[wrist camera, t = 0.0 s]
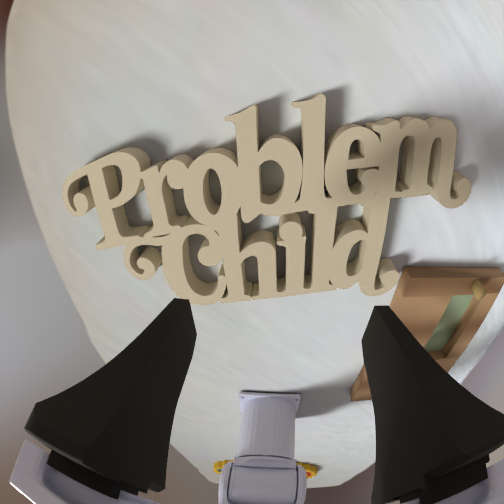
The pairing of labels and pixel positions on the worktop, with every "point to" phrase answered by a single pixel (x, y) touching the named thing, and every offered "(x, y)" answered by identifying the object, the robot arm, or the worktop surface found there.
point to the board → (440, 311)
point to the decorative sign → (273, 204)
